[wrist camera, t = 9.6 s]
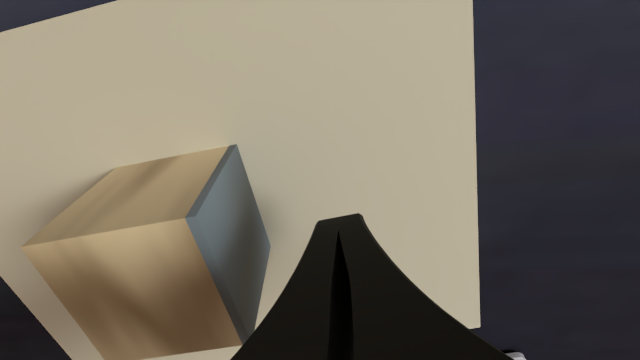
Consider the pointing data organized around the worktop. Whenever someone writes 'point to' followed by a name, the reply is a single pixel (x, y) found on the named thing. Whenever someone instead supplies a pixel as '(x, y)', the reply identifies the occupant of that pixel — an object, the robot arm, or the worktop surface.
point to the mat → (253, 128)
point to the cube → (160, 256)
